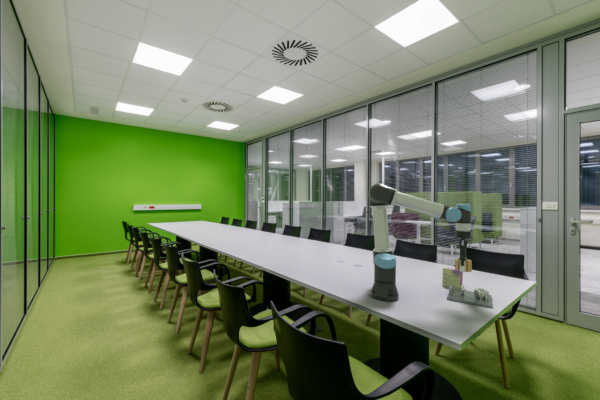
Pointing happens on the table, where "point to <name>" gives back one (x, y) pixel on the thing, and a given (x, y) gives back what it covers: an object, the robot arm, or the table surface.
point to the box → (452, 277)
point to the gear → (467, 265)
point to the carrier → (470, 296)
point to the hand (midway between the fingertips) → (463, 269)
